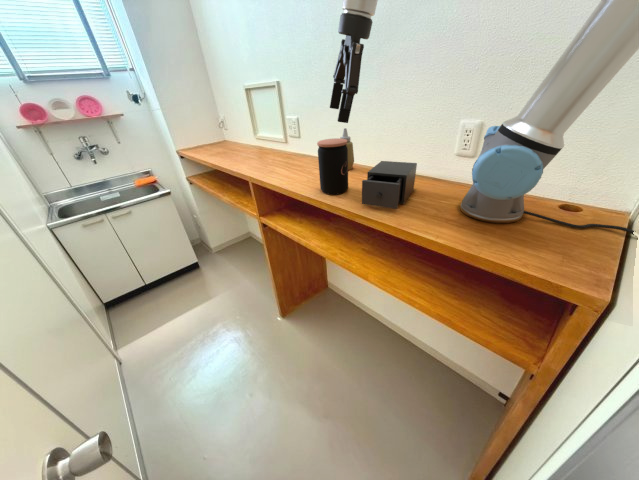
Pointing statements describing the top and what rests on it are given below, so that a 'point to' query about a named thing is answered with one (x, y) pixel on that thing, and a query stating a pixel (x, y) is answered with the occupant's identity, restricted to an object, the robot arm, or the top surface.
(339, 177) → the coffee jar
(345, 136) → the squeeze bottle
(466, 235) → the top surface
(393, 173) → the cabinet
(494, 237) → the top surface
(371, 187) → the drawer
